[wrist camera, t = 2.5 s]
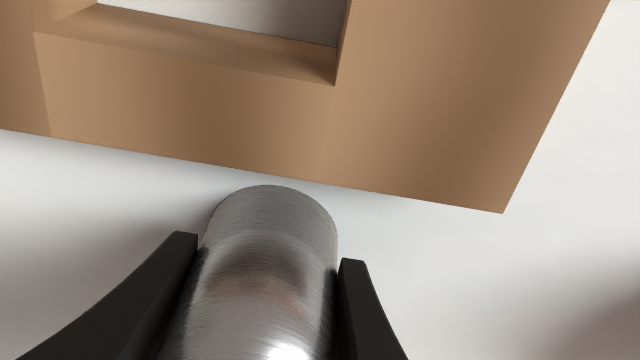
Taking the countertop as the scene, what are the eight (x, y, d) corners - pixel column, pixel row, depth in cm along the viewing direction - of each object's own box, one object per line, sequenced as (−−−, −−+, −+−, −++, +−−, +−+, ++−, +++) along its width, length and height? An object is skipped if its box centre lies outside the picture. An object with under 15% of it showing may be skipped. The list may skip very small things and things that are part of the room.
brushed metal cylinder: (207, 274, 15) (136, 471, 10) (211, 174, 13) (124, 361, 8) (325, 292, 15) (315, 494, 10) (349, 198, 13) (353, 394, 8)
